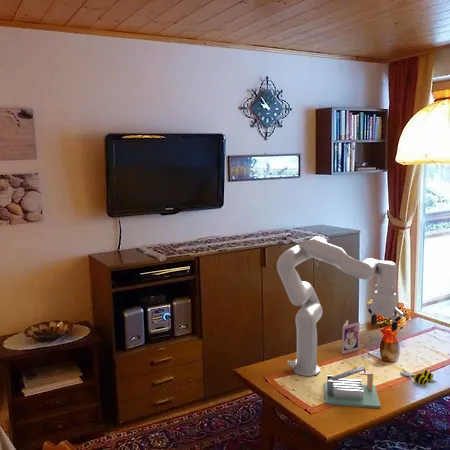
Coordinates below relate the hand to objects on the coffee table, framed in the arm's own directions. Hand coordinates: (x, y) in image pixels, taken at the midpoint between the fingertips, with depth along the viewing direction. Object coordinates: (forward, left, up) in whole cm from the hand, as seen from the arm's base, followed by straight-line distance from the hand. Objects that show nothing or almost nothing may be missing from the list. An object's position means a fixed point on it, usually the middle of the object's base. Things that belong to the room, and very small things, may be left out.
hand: (383, 327), depth 221 cm
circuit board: (-14, -11, -27) cm, 33 cm away
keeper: (-8, -5, -26) cm, 28 cm away
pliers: (+17, +9, -28) cm, 34 cm away
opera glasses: (+19, +6, -28) cm, 34 cm away
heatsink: (-17, -11, -26) cm, 33 cm away
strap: (-16, -11, -19) cm, 27 cm away
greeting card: (-12, +39, -28) cm, 49 cm away
